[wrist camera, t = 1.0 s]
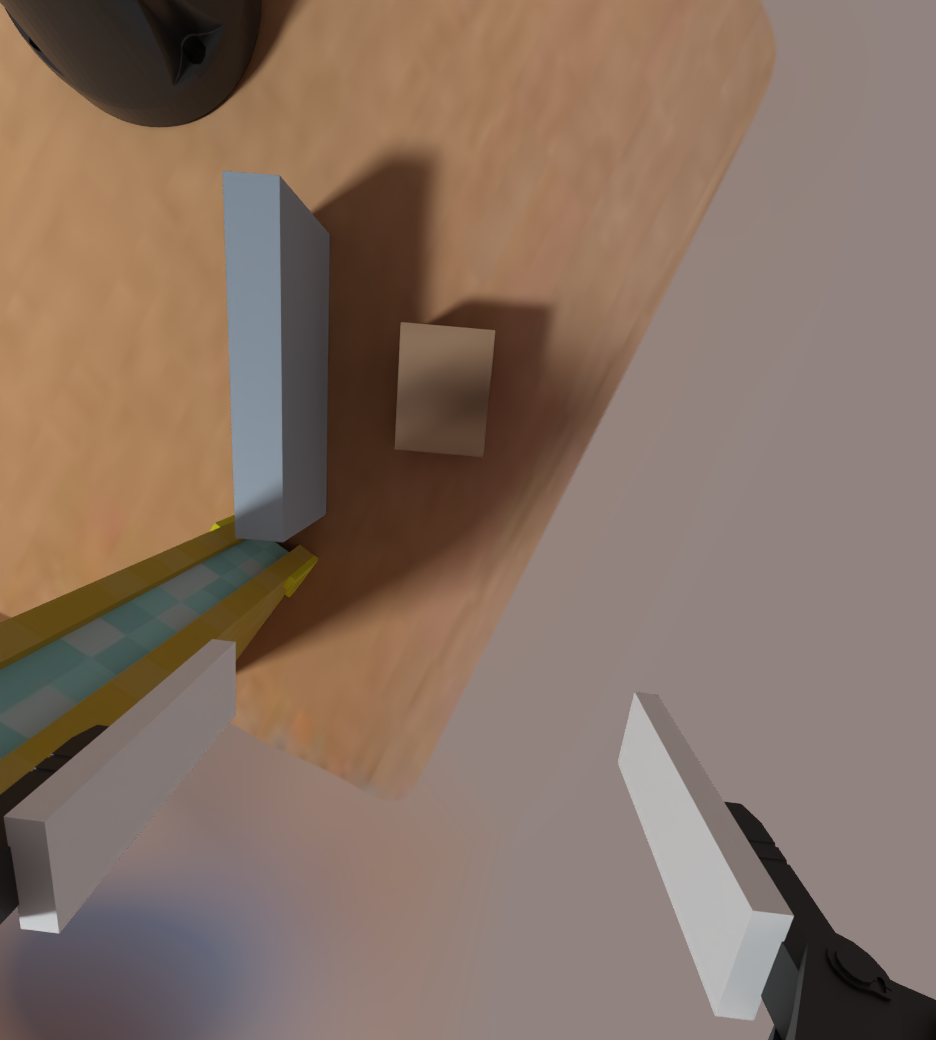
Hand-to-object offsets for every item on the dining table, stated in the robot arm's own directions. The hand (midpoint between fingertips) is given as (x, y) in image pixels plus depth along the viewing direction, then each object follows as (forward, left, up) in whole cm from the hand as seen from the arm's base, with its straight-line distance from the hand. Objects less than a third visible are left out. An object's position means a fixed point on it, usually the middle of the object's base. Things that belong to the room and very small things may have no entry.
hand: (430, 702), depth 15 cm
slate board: (-10, -12, -22) cm, 27 cm away
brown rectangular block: (-10, -2, -22) cm, 24 cm away
